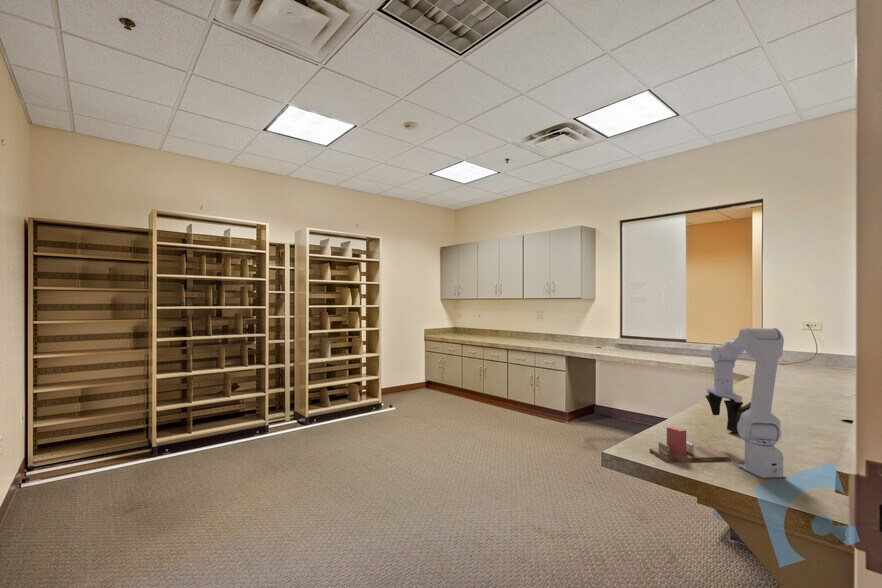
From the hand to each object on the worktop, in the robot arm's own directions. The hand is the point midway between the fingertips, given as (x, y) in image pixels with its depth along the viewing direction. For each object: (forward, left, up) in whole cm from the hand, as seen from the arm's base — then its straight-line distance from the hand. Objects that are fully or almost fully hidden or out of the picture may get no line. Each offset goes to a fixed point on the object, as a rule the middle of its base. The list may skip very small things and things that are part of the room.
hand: (723, 417), depth 156 cm
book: (-8, +24, -9) cm, 26 cm away
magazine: (+23, -28, -11) cm, 38 cm away
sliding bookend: (-8, +19, -9) cm, 23 cm away
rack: (-8, +19, -10) cm, 23 cm away
